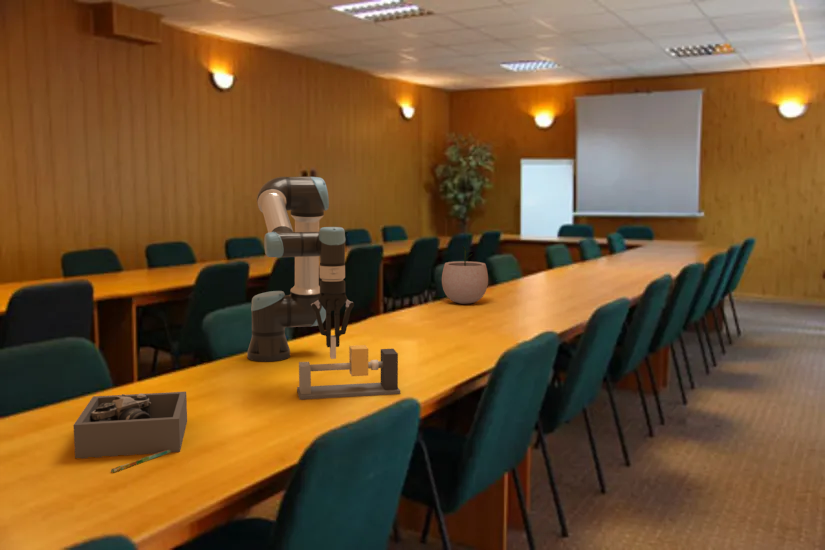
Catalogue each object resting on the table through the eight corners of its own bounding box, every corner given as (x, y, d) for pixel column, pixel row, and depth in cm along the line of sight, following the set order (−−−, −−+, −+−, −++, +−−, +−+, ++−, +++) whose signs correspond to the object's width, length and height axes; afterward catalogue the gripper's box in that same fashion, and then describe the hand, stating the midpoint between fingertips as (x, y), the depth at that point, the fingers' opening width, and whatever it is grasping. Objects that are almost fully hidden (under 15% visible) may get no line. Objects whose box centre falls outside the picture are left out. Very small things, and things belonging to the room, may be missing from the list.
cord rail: (299, 399, 219) (299, 359, 217) (297, 390, 228) (296, 351, 227) (400, 393, 225) (400, 354, 224) (393, 384, 235) (394, 347, 233)
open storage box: (75, 458, 172) (73, 425, 171) (94, 426, 194) (93, 396, 193) (180, 451, 177) (178, 418, 176) (187, 420, 199) (186, 391, 198)
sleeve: (351, 376, 224) (351, 349, 223) (349, 372, 229) (349, 345, 227) (368, 375, 225) (368, 348, 224) (365, 371, 230) (365, 345, 229)
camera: (112, 450, 178) (111, 409, 176) (88, 441, 183) (86, 401, 182) (168, 432, 190) (167, 394, 189) (143, 424, 196) (142, 387, 195)
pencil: (177, 449, 179) (110, 473, 164) (177, 445, 179) (110, 468, 164) (180, 450, 178) (113, 474, 164) (180, 445, 178) (113, 469, 163)
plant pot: (473, 308, 373) (474, 248, 369) (432, 304, 386) (433, 246, 382) (495, 302, 393) (496, 245, 389) (455, 298, 406) (456, 242, 402)
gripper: (311, 281, 216) (312, 361, 219) (356, 280, 219) (356, 359, 222) (309, 278, 223) (309, 355, 227) (352, 277, 226) (352, 353, 230)
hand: (332, 357), depth 224 cm, fingers closed
